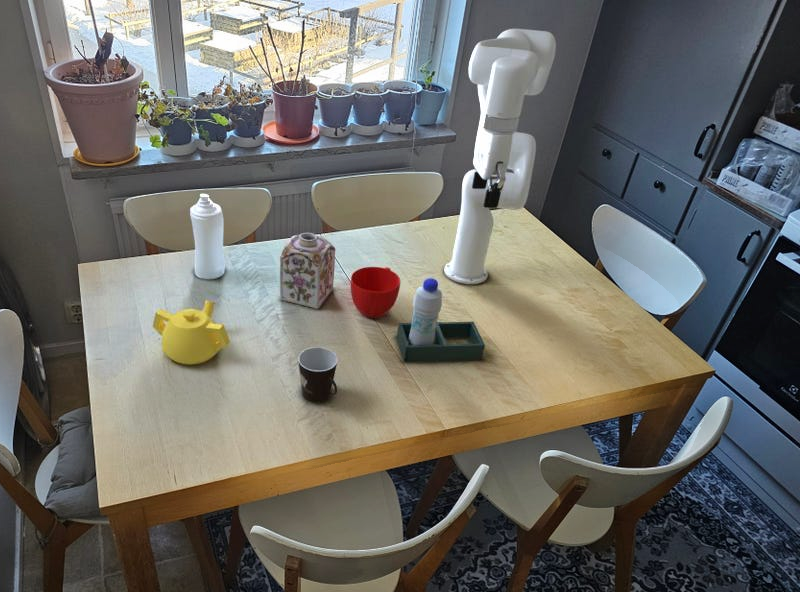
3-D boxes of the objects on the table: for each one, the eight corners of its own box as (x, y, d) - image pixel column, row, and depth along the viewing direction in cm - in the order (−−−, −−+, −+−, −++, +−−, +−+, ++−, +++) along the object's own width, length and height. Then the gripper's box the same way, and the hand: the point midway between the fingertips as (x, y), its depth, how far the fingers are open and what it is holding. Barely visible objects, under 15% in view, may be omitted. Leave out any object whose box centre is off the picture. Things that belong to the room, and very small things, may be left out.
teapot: (249, 333, 161) (247, 297, 154) (216, 376, 147) (213, 338, 140) (178, 316, 166) (174, 280, 159) (140, 356, 152) (134, 319, 145)
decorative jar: (278, 300, 174) (278, 241, 162) (295, 280, 182) (296, 222, 171) (319, 310, 170) (321, 250, 159) (334, 289, 179) (338, 231, 168)
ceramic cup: (407, 298, 177) (412, 267, 170) (386, 330, 164) (390, 297, 158) (364, 287, 181) (367, 256, 174) (340, 316, 168) (343, 284, 162)
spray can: (238, 272, 184) (234, 191, 169) (214, 288, 177) (207, 204, 162) (207, 260, 189) (200, 180, 174) (183, 275, 182) (173, 193, 166)
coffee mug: (296, 381, 147) (297, 347, 141) (333, 380, 148) (335, 346, 141) (299, 416, 138) (300, 381, 131) (338, 415, 138) (341, 380, 132)
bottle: (432, 358, 155) (445, 289, 143) (405, 354, 156) (415, 285, 144) (434, 343, 161) (446, 274, 148) (407, 339, 162) (418, 270, 149)
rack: (396, 337, 162) (398, 323, 159) (470, 335, 164) (473, 321, 161) (404, 362, 154) (406, 347, 151) (481, 359, 156) (485, 345, 153)
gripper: (472, 108, 141) (459, 181, 152) (494, 136, 128) (478, 214, 139) (505, 108, 142) (489, 181, 152) (530, 136, 128) (511, 214, 139)
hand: (484, 197), depth 146 cm, fingers open, 9 cm apart
